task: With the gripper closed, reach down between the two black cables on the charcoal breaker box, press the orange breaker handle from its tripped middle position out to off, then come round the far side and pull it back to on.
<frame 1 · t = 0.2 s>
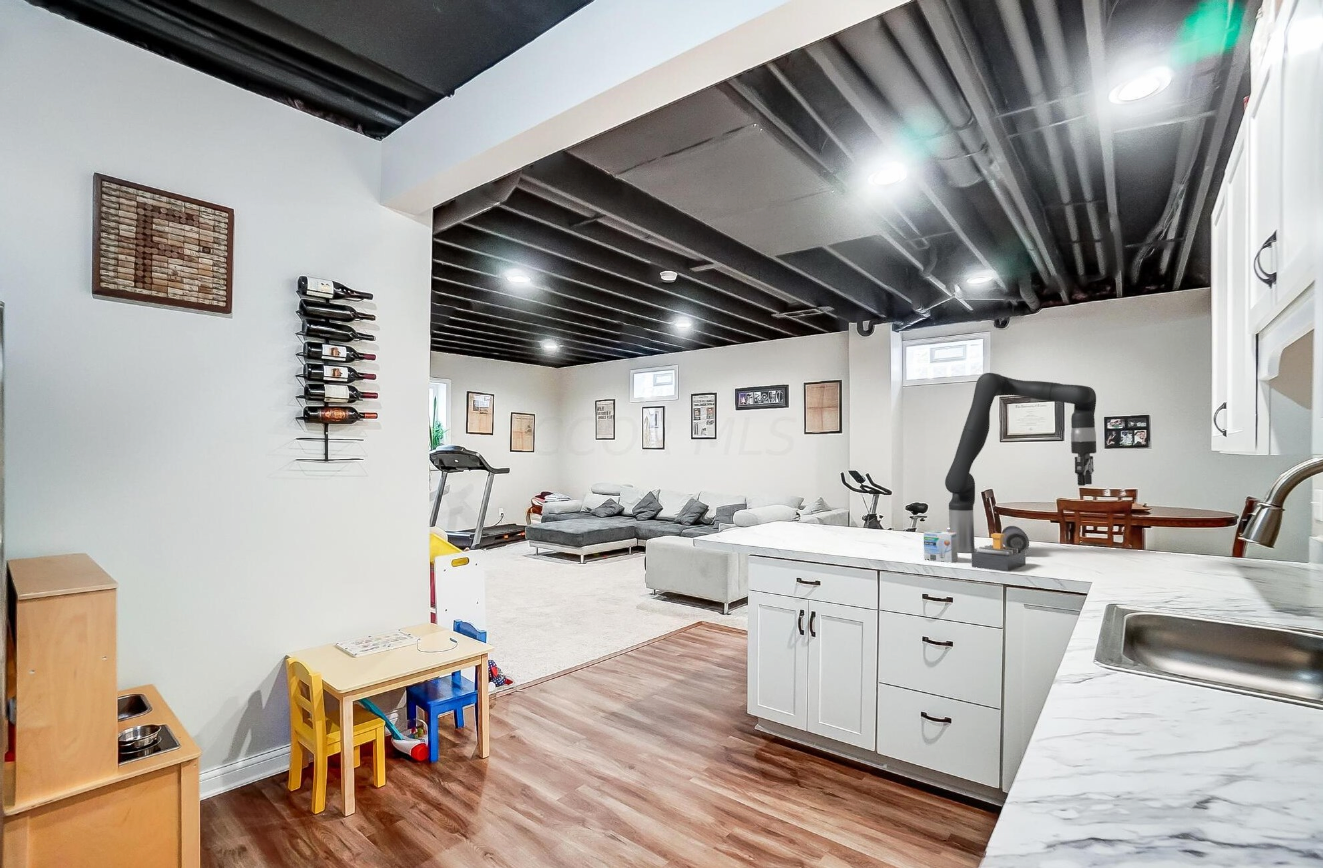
hand: (1084, 484, 222), 29 cm above the worktop, tool pointing down, fingers open, 8 cm apart
breaker handle: (998, 542, 222), point 9 cm above the worktop, slide at 0.0 cm
dressed cables: (998, 550, 222), point 5 cm above the worktop
bluetooth speaker: (1014, 552, 250), on the worktop
light bulb box: (940, 560, 235), on the worktop
breaker box: (998, 565, 222), on the worktop
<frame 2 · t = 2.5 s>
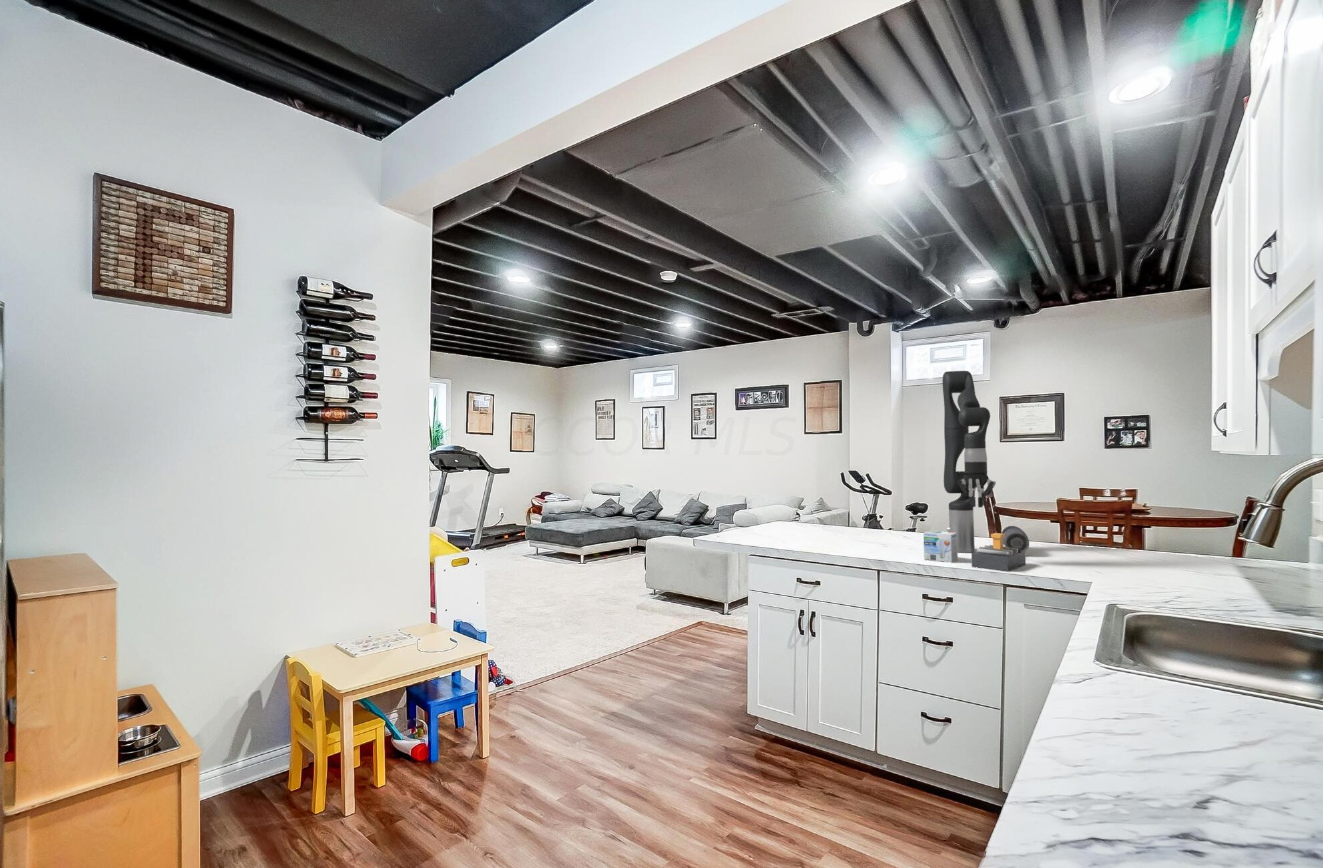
hand: (977, 506, 228), 21 cm above the worktop, tool pointing down, fingers closed
nothing on the worktop moved.
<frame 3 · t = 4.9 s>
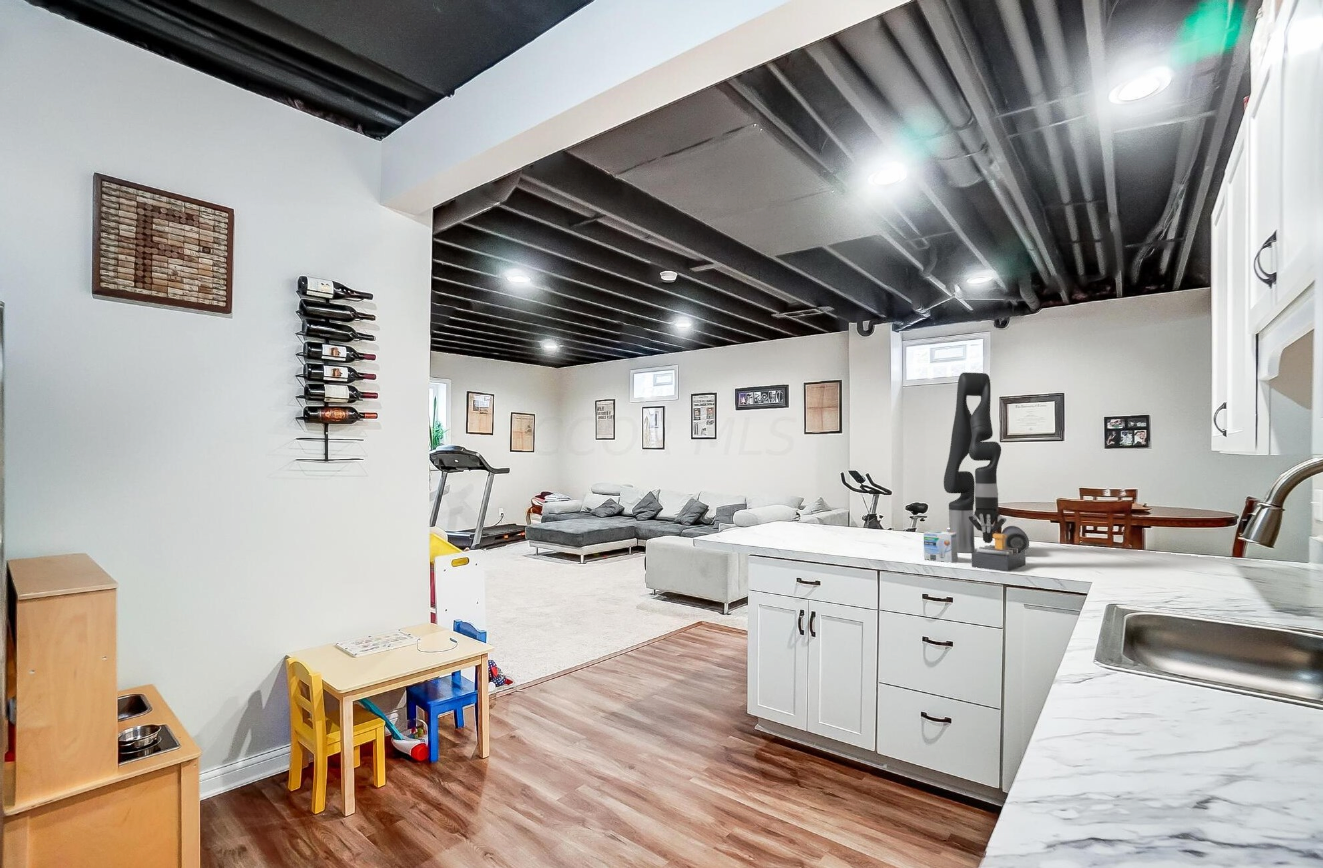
hand: (987, 542, 224), 8 cm above the worktop, tool pointing down, fingers closed
breaker handle: (1000, 542, 221), point 9 cm above the worktop, slide at 0.7 cm, touching gripper
everything else where it was.
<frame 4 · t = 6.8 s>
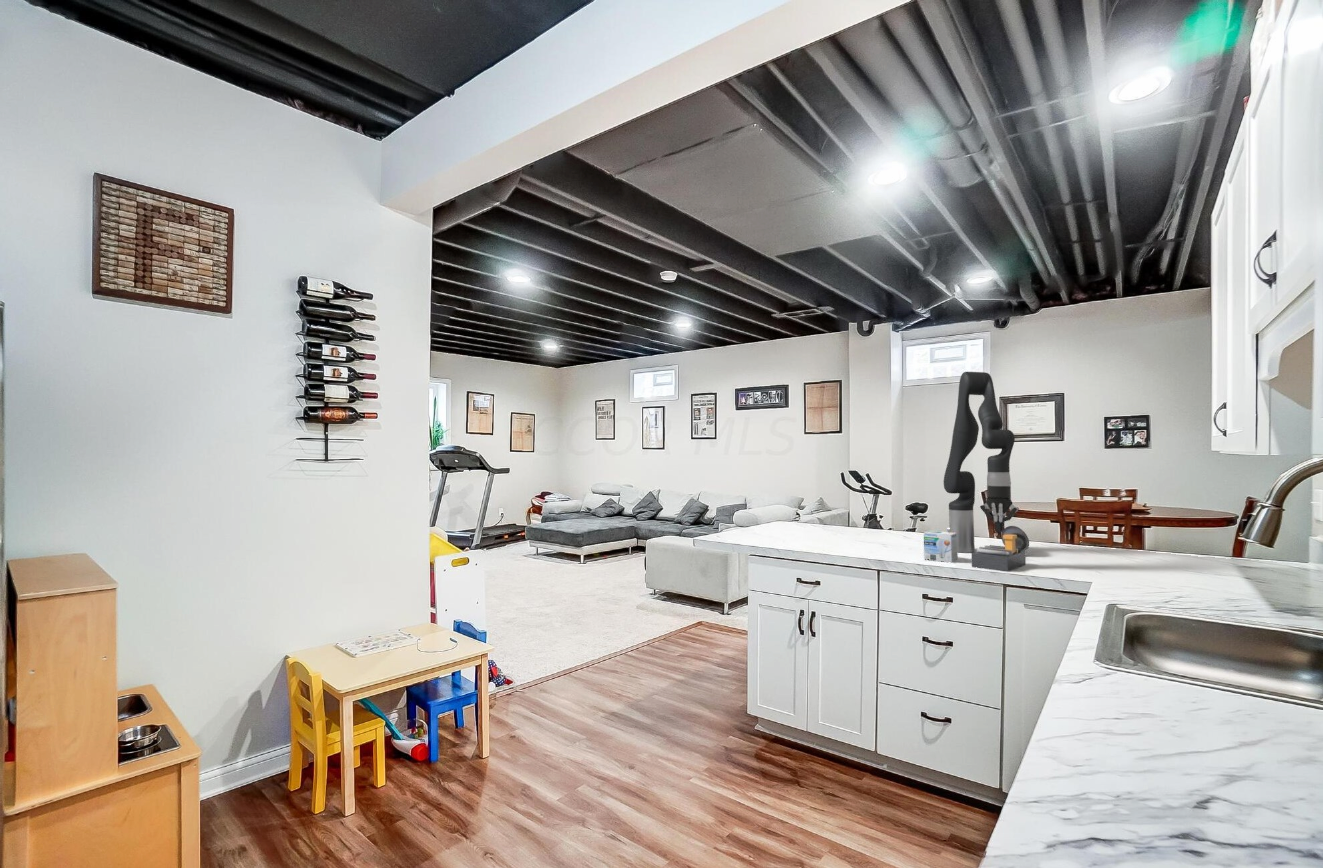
hand: (999, 532, 222), 12 cm above the worktop, tool pointing down, fingers closed
breaker handle: (1010, 543, 219), point 9 cm above the worktop, slide at 4.0 cm
everything else where it was.
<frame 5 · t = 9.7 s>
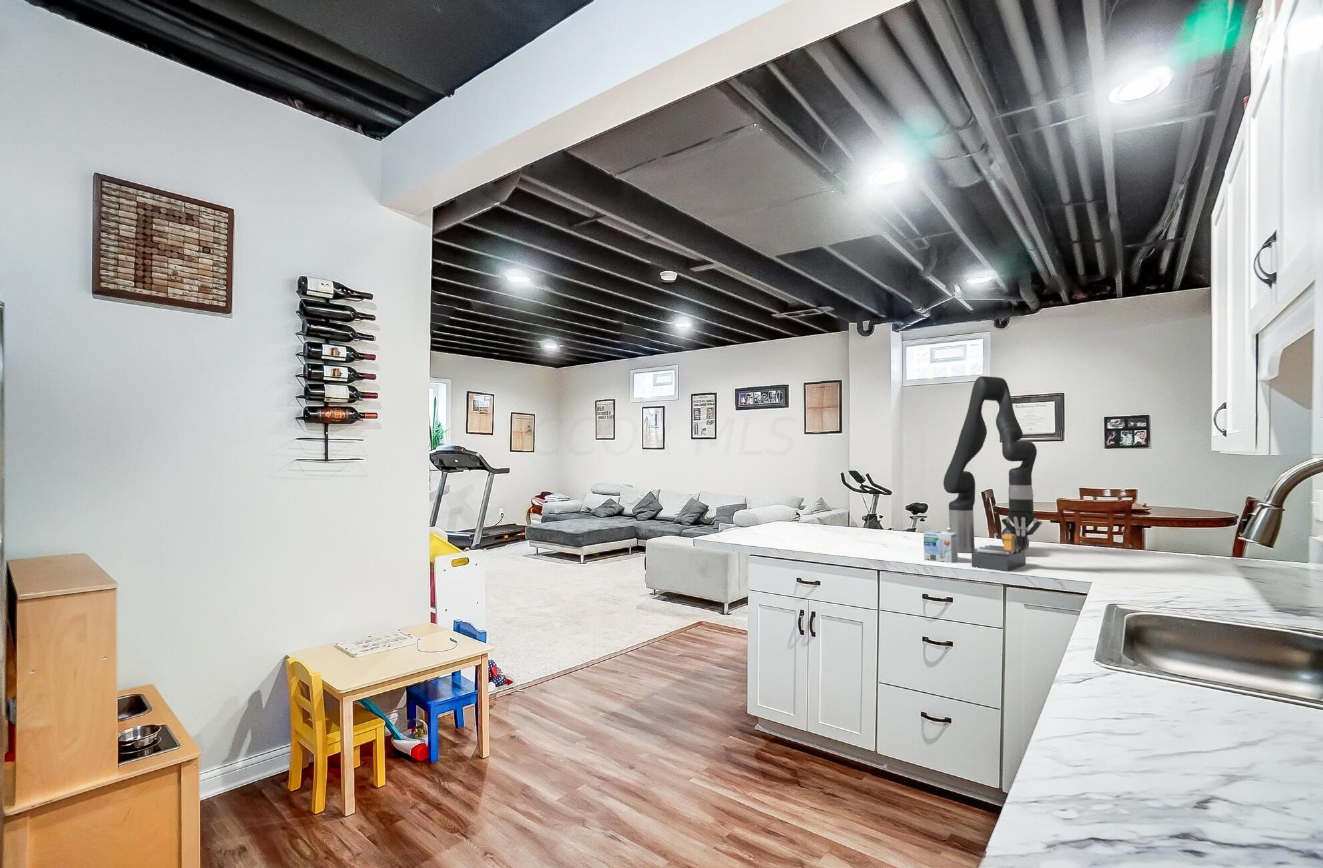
hand: (1022, 546, 216), 8 cm above the worktop, tool pointing down, fingers closed
breaker handle: (1009, 543, 219), point 9 cm above the worktop, slide at 3.7 cm, touching gripper
everything else where it was.
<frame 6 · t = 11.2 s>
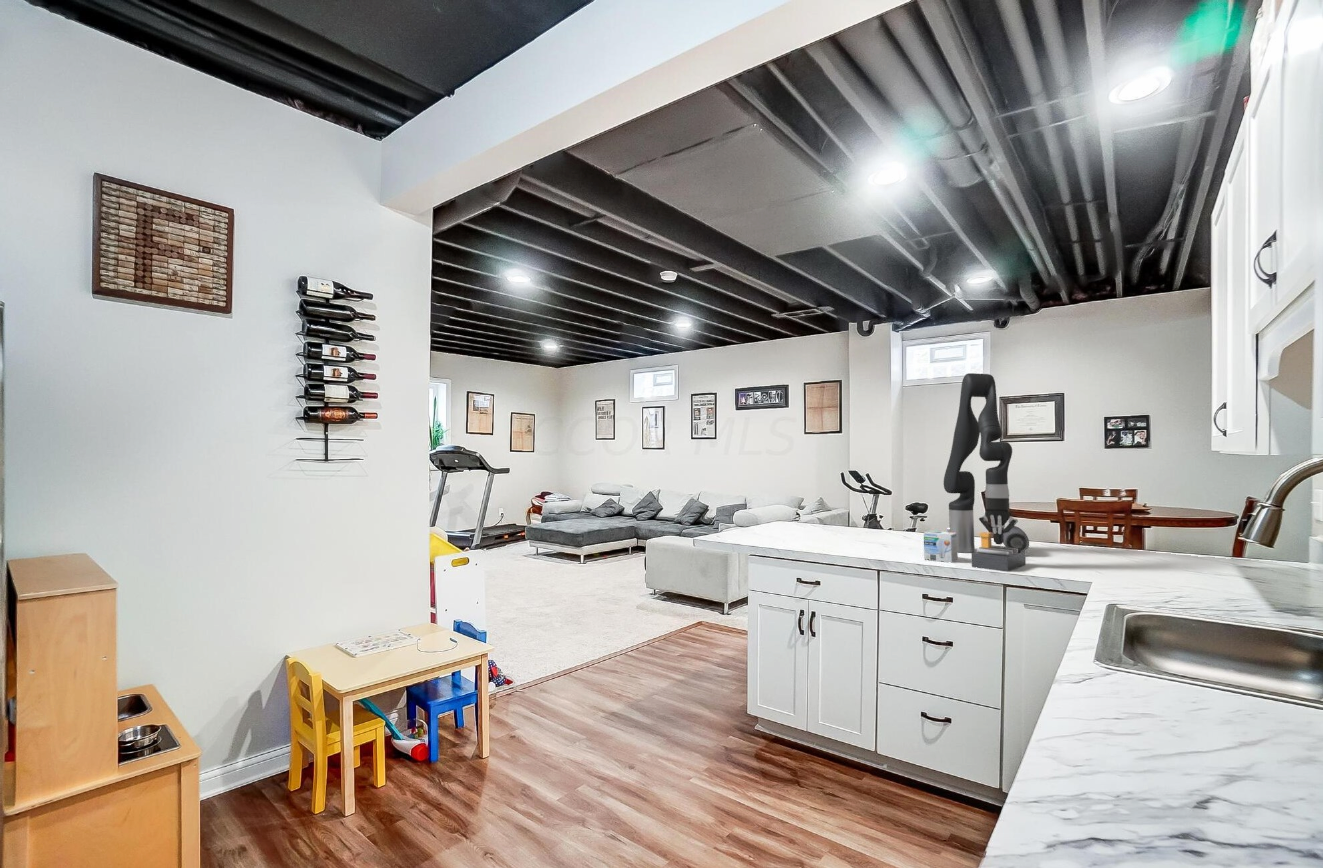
hand: (998, 544, 222), 8 cm above the worktop, tool pointing down, fingers closed
breaker handle: (986, 541, 225), point 8 cm above the worktop, slide at -4.1 cm, touching gripper
everything else where it was.
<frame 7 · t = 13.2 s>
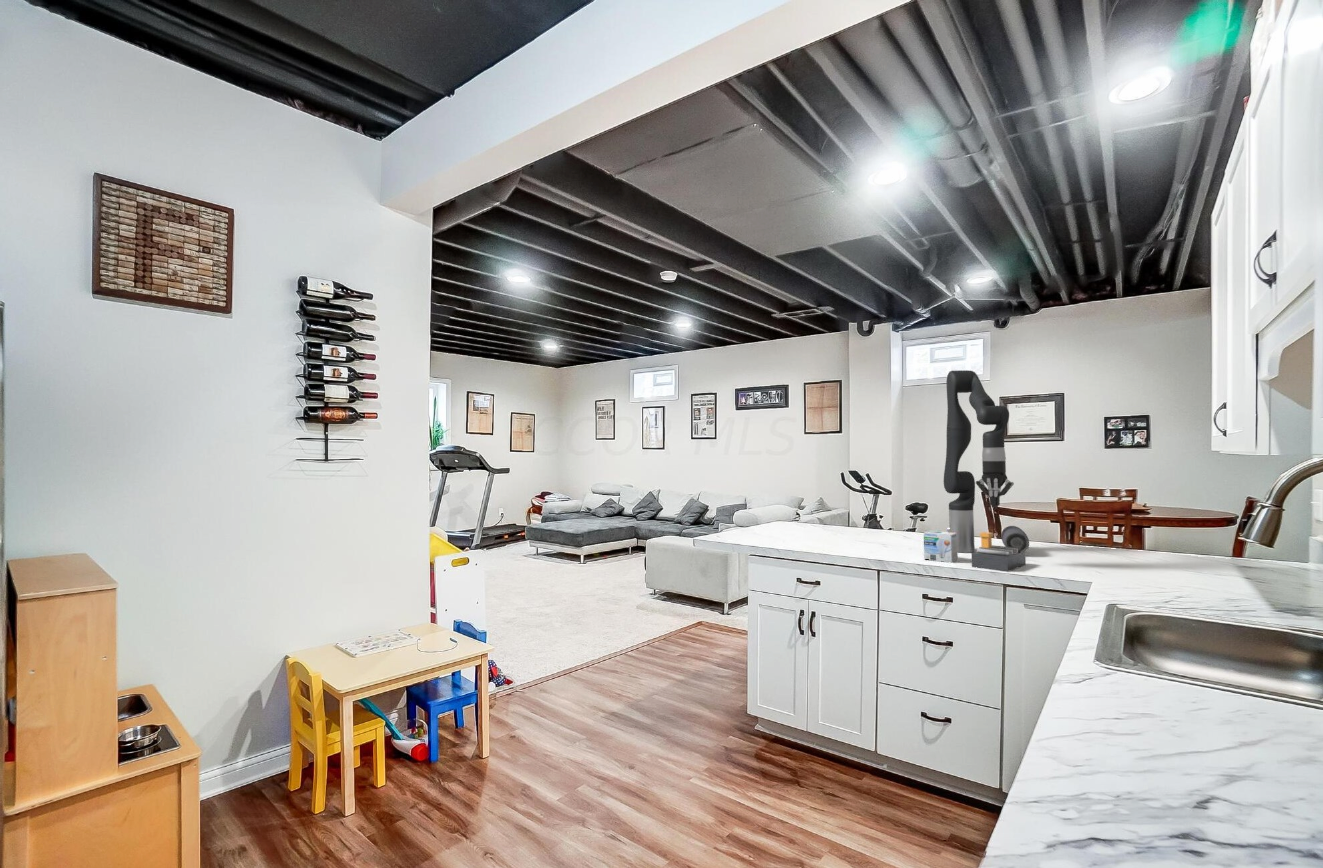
hand: (994, 506, 224), 21 cm above the worktop, tool pointing down, fingers closed
breaker handle: (986, 541, 225), point 9 cm above the worktop, slide at -4.0 cm
everything else where it was.
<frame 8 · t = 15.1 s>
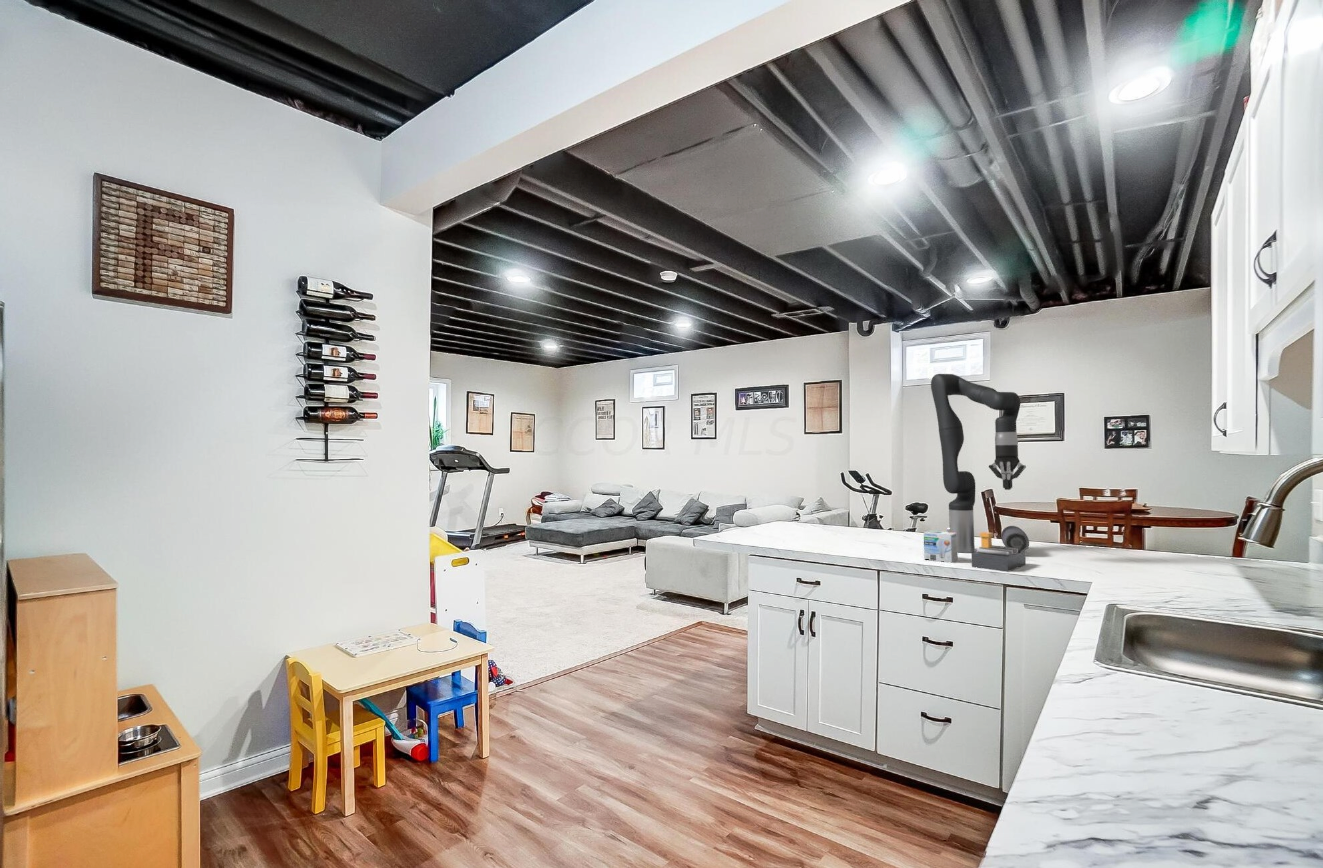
hand: (1007, 489, 232), 27 cm above the worktop, tool pointing down, fingers closed
nothing on the worktop moved.
at the end: breaker handle slide at -4.0 cm; light bulb box moved 0.3 cm from its start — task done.
